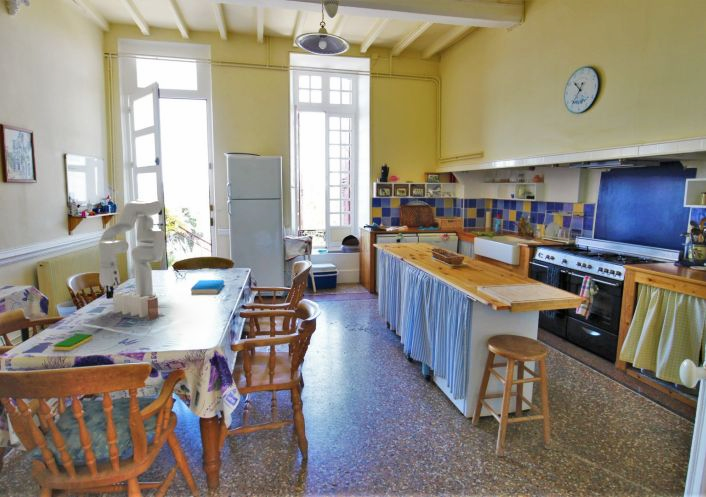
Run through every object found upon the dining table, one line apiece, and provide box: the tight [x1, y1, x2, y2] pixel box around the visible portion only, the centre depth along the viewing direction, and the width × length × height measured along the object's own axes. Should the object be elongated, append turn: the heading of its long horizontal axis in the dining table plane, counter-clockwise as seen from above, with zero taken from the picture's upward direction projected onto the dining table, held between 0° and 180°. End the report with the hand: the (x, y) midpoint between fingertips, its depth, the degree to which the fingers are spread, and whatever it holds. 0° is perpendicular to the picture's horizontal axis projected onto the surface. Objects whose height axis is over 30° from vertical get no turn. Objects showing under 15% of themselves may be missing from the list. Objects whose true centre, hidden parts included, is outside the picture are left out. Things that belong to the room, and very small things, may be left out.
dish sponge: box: [53, 333, 93, 351], centre depth 178 cm, size 7×14×2 cm, turn 177°
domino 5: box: [147, 296, 159, 319], centre depth 212 cm, size 2×5×10 cm, turn 159°
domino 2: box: [121, 292, 133, 314], centre depth 218 cm, size 2×5×10 cm, turn 159°
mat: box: [106, 310, 166, 322], centre depth 217 cm, size 30×11×1 cm, turn 69°
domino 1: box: [112, 291, 124, 313], centre depth 220 cm, size 2×5×10 cm, turn 159°
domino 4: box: [138, 296, 150, 317], centre depth 214 cm, size 2×5×10 cm, turn 159°
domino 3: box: [130, 295, 140, 316], centre depth 216 cm, size 2×5×10 cm, turn 159°
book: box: [190, 279, 225, 295], centre depth 277 cm, size 17×4×25 cm
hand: (110, 297), depth 222 cm, fingers closed
